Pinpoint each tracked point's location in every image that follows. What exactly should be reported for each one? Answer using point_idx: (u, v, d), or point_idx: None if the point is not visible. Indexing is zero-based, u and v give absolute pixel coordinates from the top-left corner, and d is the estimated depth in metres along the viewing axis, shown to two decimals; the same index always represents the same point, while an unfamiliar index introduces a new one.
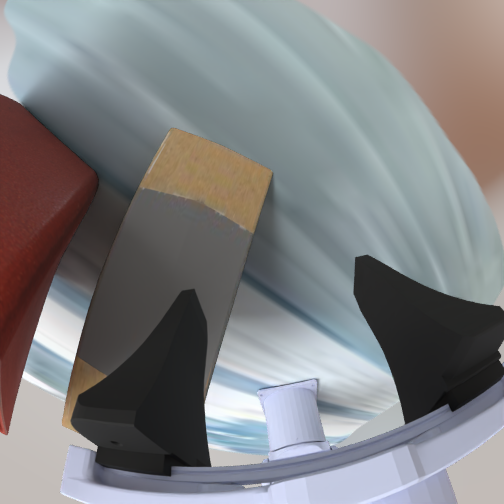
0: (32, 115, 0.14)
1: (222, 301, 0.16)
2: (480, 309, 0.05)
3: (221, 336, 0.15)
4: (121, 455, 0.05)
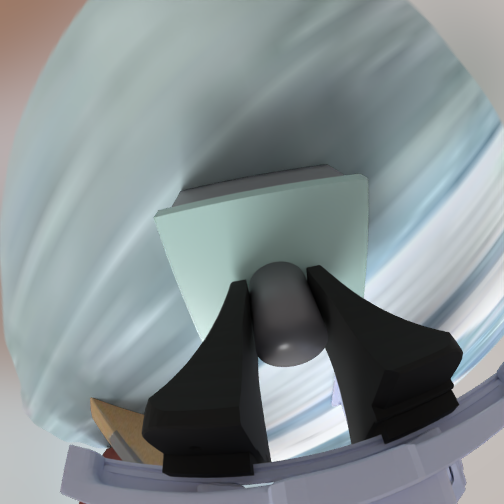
0: (110, 448, 0.33)
1: None
2: (423, 335, 0.05)
3: None
4: (196, 461, 0.05)
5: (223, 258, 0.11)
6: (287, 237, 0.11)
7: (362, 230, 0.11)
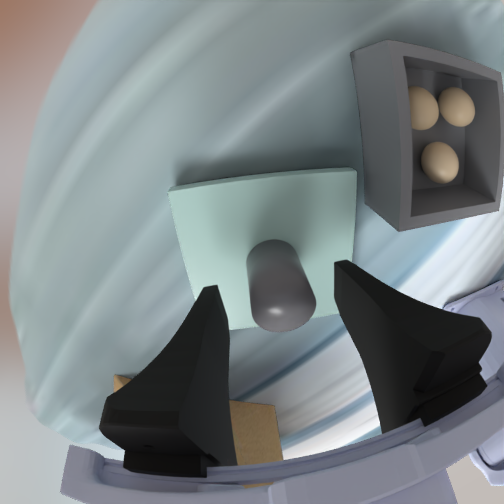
0: None
1: None
2: (457, 320, 0.05)
3: None
4: (152, 459, 0.05)
5: (225, 233, 0.13)
6: (283, 217, 0.12)
7: (350, 217, 0.13)
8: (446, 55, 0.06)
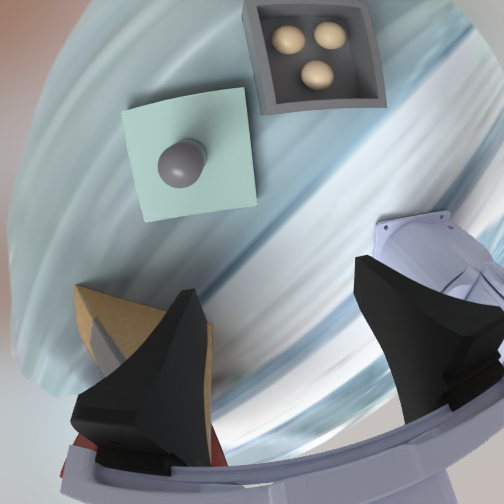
0: None
1: (116, 363, 0.19)
2: (480, 309, 0.05)
3: None
4: (121, 455, 0.05)
5: (155, 135, 0.16)
6: (193, 122, 0.16)
7: (243, 119, 0.16)
8: None
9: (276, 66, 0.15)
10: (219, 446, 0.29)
